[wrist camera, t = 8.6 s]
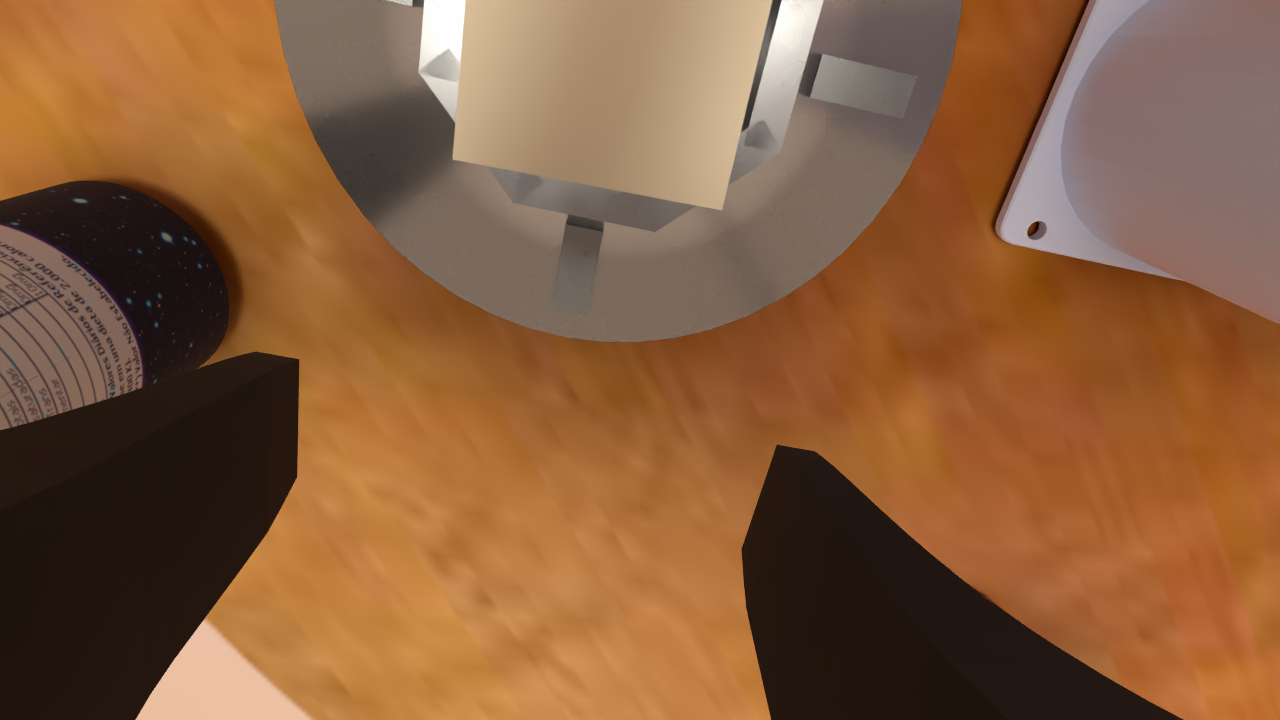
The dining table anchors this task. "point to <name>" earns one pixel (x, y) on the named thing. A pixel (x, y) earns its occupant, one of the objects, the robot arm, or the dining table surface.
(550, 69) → the beige wooden block
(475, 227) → the rosette socket
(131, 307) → the beverage can
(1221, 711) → the dining table surface
